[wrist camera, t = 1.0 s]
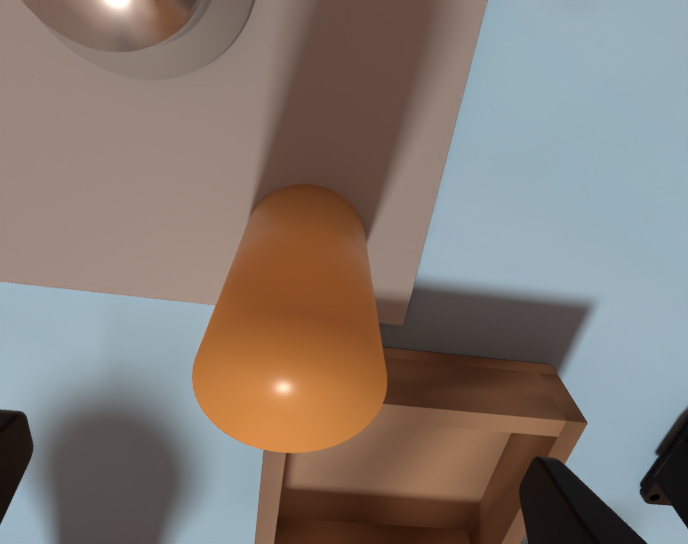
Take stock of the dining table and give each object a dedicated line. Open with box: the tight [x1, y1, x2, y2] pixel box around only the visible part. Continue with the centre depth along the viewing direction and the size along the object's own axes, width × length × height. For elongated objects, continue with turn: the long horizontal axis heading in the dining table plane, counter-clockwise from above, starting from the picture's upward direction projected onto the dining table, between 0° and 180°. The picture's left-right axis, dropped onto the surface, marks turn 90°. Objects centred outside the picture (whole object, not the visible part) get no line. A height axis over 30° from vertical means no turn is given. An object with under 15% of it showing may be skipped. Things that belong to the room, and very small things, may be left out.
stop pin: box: [192, 184, 387, 453], centre depth 13 cm, size 4×4×7 cm
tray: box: [255, 347, 587, 544], centre depth 20 cm, size 11×11×3 cm
